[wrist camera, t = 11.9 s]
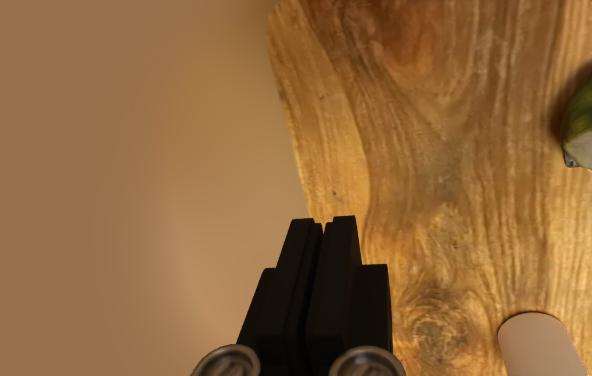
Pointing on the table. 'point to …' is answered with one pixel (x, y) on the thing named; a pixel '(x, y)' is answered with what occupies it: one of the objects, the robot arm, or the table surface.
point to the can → (538, 347)
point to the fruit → (578, 127)
